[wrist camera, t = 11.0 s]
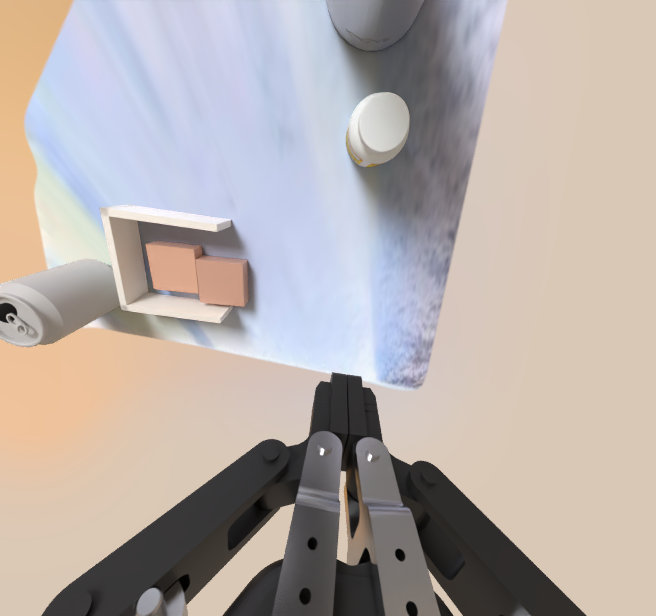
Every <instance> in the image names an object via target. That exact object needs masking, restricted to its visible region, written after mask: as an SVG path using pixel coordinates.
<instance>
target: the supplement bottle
mask: <svg viewBox="0 0 656 616" xmlns="http://www.w3.org/2000/svg"><path fill="white" fill-rule="evenodd" d="M409 122H410V117H409V111H408V107H407V105H406V103H405V102H404V100H403V99H402V98H401V97H400V96H398V95H396V94H394V93H390V92H380V93H374V94H372V95H369V96H368V97H366V98H365V99H363V100H362V101H361V102H360V103H359V104H358V105H357V107H356V108H355V110H354V112H353V114H352V116H351V119H350V122H349V126H348V130H347V134H346V148H347V152H348V154H349V156H350V158H351V159H352V160H353V161H354V162H355V163H356V164H358V165H360V166H362V167H374V166H377V165H380V164H382V163H385V162H387V161H389V160H391V159H392V158H394V157H395V156H396V155H397V154H398V153H399V152H400V151H401V149H402V148H403V146H404V145H405V142H406V140H407V137H408V133H409Z"/></svg>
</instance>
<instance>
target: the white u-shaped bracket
mask: <svg viewBox="0 0 656 616" xmlns="http://www.w3.org/2000/svg"><path fill="white" fill-rule="evenodd" d="M100 212H101V216H102V221H103V226H104V231H105V235H106V240H107V245H108V249H109V254H110V259H111V264H112V268H113V273H114V278H115V282H116V287H117V292H118V297H119V301H120V306H121V310H124V311H131V312H139V313H146V314H154V315H161V316H169V317H176V318H184V319H191V320H199V321H206V322H214V323H221V322H222V321H223V320H224V319H225V317H226V316H227V315H228V314H229V313H230V311H231V310H232V309H233V306H231V305H221V304H211V303H201V302H200V299H193V298H185V297H178V296H171V295H163V294H156V293H149V290H148V284H147V277H146V271H145V265H144V259H143V252H142V246H141V240H140V233H139V227H138V221H145V222H152V223H159V224H166V225H173V226H179V227H186V228H193V229H200V230H207V231H214V232H218V231H221V230H223V229H226V228H228V227H231V220H230V219H223V218H216V217H209V216H202V215H195V214H189V213H182V212H175V211H168V210H161V209H155V208H148V207H141V206H134V205H120V206H110V207H100ZM137 220H138V221H137Z"/></svg>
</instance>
